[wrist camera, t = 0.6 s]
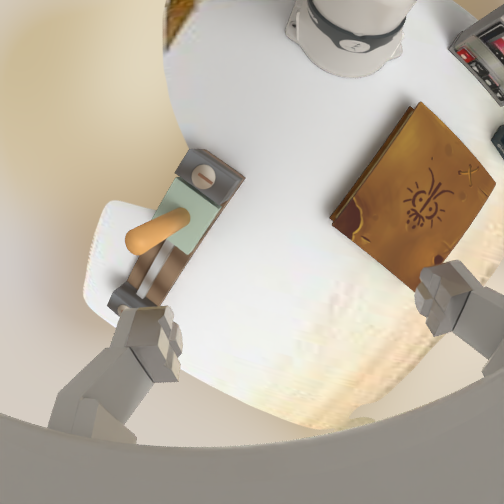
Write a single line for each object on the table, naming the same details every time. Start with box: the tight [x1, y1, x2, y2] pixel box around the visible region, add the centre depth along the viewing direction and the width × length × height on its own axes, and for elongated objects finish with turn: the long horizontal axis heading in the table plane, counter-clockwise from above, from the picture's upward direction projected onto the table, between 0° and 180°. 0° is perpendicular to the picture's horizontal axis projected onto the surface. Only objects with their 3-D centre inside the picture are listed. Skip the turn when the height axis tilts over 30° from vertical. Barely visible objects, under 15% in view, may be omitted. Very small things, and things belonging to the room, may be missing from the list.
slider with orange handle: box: [125, 177, 222, 255], centre depth 37 cm, size 9×8×15 cm
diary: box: [330, 102, 496, 292], centre depth 38 cm, size 23×19×6 cm
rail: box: [107, 149, 245, 316], centre depth 47 cm, size 33×8×8 cm, turn 144°
